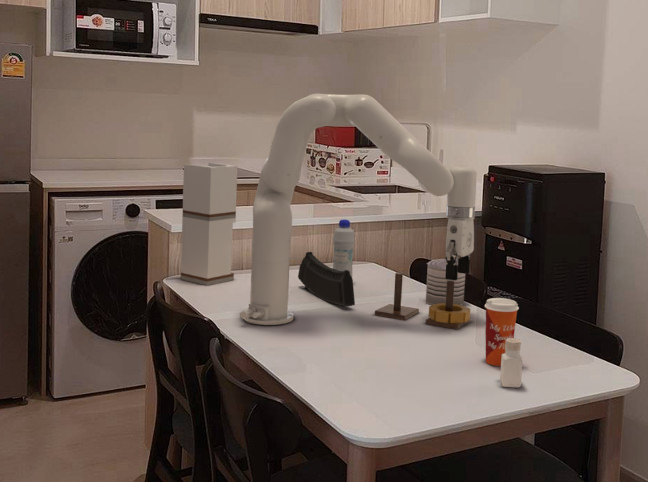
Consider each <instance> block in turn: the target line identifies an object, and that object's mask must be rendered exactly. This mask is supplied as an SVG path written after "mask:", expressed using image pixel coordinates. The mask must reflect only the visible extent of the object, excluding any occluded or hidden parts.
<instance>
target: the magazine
mask: <svg viewBox="0 0 648 482" xmlns="http://www.w3.org/2000/svg"><path fill="white" fill-rule="evenodd" d="M297 278H298V280H299V281H300V282H301V283H302V285H303V286H305V289H307V290H309V291H310V292H312V294H313V295H315V296H316V297H318V298H319V299H321V300H323V301H325V302H328V303H331V304H335V305H341V306H343V307H352V306H355V304H356V301H355V289H354V281H353V280H354V279H353V276H352V277H351V275H350V271H348V270H345V271H339V270H336V269H333V267H330V266H328V265H326V264H325V263H323V262H322V261H320V260H319V259H318V258H317V257H316V256H315V255H314V254H313V252H312V251H307V252H305V256H304V257H303V258H302V260H301V263H300V265H299V269H298V274H297Z"/></svg>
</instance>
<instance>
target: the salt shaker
mask: <svg viewBox="0 0 648 482" xmlns="http://www.w3.org/2000/svg"><path fill="white" fill-rule="evenodd" d="M521 345H522V341H521V340H520V339H518V338H515V337H514V338H508V339H506V341H505V353H504V354H502V358H501V366H500V373H499V380H500V383H501V386H502V387H504V388H520V387H521V386H522V378H523V377H522V376H523V375H522V374H523V361H524V359H523V356H522V355H521Z"/></svg>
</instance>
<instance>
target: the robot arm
mask: <svg viewBox="0 0 648 482" xmlns="http://www.w3.org/2000/svg"><path fill="white" fill-rule="evenodd" d="M324 127H356V128H357V129H358V131H360V132H361V133H362V134H363V135H364V136H365V137H366V138H367V139H368V140H369V141H370V142H372V143H373V145H375V146H376V147H377V148H378V150H380V152H382V153H383V154H384V155H385V156H386V157H388V158H389V159H390V160H391V161H393V162H395V163H396V164H398V165H399V166H401V167H402V168H403V169H405V170H406V171H407V172H408V173H409V174H410V175H411V176H412V177H413V178H414V179H416V180H417V183H418V185H419V186H420V188H421V189H422V190H423V191H425V192H427V193H429V194H431V195H433V196H435V197H442V196H446V215H445V218H446V219H448V221H447V228H446V237H445V239H446V240H445V253H444V254H445V259H446V276H445V278H446V279H448V280H457V278H458V273H464V274H465V275H469V274H470V266H471V254H472V253H473V252H474V250H475V224H474V220H475V217H476V216H475V213H476V196H477V195H476V194H477V193H476V192H477V176H478V175H477V170H476V169H475V168H474V167H473V166H468V165H467V166H465V165H463V166H462V165H454V166H448V165H447V166H446V165H445V164H443V162H441V161H440V160H439V158H438V157H436V156H435V155H434V154H433V153H432V152H431V151H430V150H428V148H426V147H425V145H423V144H422V143H421V142H420V141H419V140H418V139H417V138H416V137H415V136H414V135H413V134H412V133H411V132H410V131H409V130H407V128H406V127H405V126H404V125H402V124H401V123H400V122H399V121H398V120H397V119H396V118H395V117H394V116H393V115H392V114H391V112H389V111H388V110H387V109H386V108H385V107H384V106H383V105H382V104H381V103H380V102H379V101H377V100H376V99H375V98H374V97H372V96H371V95H369V94H362V93H361V94H359V93H358V94H337V93H336V94H335V93H334V94H332V93H331V94H330V93H311V94H309V95H307V96H304V97H303V98H300V99H298V100H296V101H294V102H293V103H292V104H291V105H289V106H288V107H287V108H286V109H285V110H284V111H283V112H282V115H281V116H280V118H279V120H278V123H277V125H276V129H275V131H274V134H273V139H272V141H271V145H270V150H269V154H268V157H267V158H266V159H265V160H264V162H263V164H262V167H261V169H260V174H259V179H258V184H257V188H256V192H255V196H254V202H253V206H252V237H251V239H252V241H251V270H250V275H251V276H250V295H249V296H250V300H249V303H248V308H247V309H245V310H242V311H241V312H239V317H240V318H241V319H243V320H244V321H245V322H247V323H250V324H252V325H253V324H254V325H260V326H276V325H277V326H278V325H284V324H288V323H291V322H292V321H293V320H294V313H293V312H291V311H290V310H288V308H289V287H290V286H289V285H290V266H291V265H290V263H291V261H290V260H291V258H290V257H291V239H292V237H291V236H292V229H293V211H292V209H291V204H292V201H293V197H294V192H295V188H296V186H297V185H298V184H299V182H300V179H301V174H302V173H301V172H302V166H303V162H304V158H305V153H306V149H307V146H308V143H309V139H310V137H311V135H312V133H313V132H314V131H315V130H316V129H318V128H324ZM454 259H455V260H454ZM457 262H458V265H457Z"/></svg>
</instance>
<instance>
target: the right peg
mask: <svg viewBox="0 0 648 482" xmlns="http://www.w3.org/2000/svg"><path fill="white" fill-rule="evenodd" d="M453 297H454V281H452V280H448V281H447V286H446V303H445V311H449V312H452V311H453ZM470 322H471V319H470V320H468V321H466V322H463V323H444V322H438V321H435V320H432V319H431V318H429V317H428V318H426V319H425V325H430V326H436V327H442V328H448V329H453V330H460V329H461V328H462V327H465V326H466V325H467V324H469V323H470Z"/></svg>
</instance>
